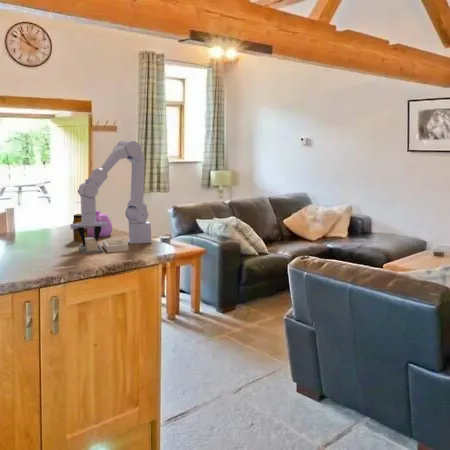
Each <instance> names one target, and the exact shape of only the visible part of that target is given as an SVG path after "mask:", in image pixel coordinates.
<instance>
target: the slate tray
mask: <svg viewBox="0 0 450 450" xmlns="http://www.w3.org/2000/svg"><path fill="white" fill-rule="evenodd" d="M78 248H79V250H80V253H81V254H83V255H84V254H86V255H87V254H97V253H99V254H100V253H104V250H105V249H103V247H102V246H101V245H100V244H99V243H98V250H97V251H86V249H85V247H84V246H83V244H81V245H78Z"/></svg>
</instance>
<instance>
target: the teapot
mask: <svg viewBox="0 0 450 450" xmlns="http://www.w3.org/2000/svg"><path fill="white" fill-rule="evenodd" d="M96 222H107V225H108V227H101V232H100V234H99V237H98V238H100V237H101V238H108V236H110V235H111V234H112V232H113V224H112V221H111V219H110V218H109V215H107V214H106V213H104V212H103V213H101V211H100V210H96ZM87 227H90V226H87ZM87 233H88V238H90V237H94V228H87Z"/></svg>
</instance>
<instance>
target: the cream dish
mask: <svg viewBox="0 0 450 450" xmlns="http://www.w3.org/2000/svg"><path fill="white" fill-rule="evenodd" d="M102 248H104V250H105V252H107V253H116V252H128V251H129V243H128V242H127V241H125V239H124V238H115V239H103V240H102Z"/></svg>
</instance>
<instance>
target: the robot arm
mask: <svg viewBox="0 0 450 450" xmlns="http://www.w3.org/2000/svg"><path fill="white" fill-rule="evenodd" d="M142 149H143V148H142V146H141V144H139V143H138V142H137V141H136V140H131V141H129V140H120V141H119V142H117V143H116V145H115V146H114V147H113V150H112V151H111V152H110V154H109V155H108V156H107V158H106V159H105V161H104V162H103V164H102V165H101V166H100V168H99V167H98V168H95V169H92V171H91V172H92V173H91V174H90V175H89V177H88V178H87V179H85V180H84V182H83V183H81V184H80V185H79V187H78V189H77V193H78V196H79V197H80V212H81V213H80V214H81V216H82V223H76V224H73V223H70V230H73V229H77V230H78V232H79V234H80V236H81V239H82V245H83V246H85V231H84V228H94V238H95V240H96V241H97V242H98V240H99V238H100V237H99V234H100V232H101V227H108V225H107V222H96V211H97V210H96V209H97V208H96V207H97V205H96V196H97V195H98V194H99V189H100V187H101V186H102V185H103V183H105V181H106V180H107V179H108V173H109V172H110V171H111V169H112V168H114V166H116V164H117V163H118V162H119V161H120V160H122V159H126V160H128V162H130V164H131V172H130V173H131V174H130V175H131V176H130V177H131V179H130V200H129V201H128V203H127V207H126V209H125V213H124V215H125V218H127V222H128V239H127V240H126V242H127V243H128V244H138V245H139V244H152V225H151V222H150V221H147V220H148V218H149V212H148V209H147V207H148V206H147V204H146V202H145V201H144V192H145V190H144V189H145V163H146V161H145V156H144V154H143V151H142ZM85 226H90V227H85Z"/></svg>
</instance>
